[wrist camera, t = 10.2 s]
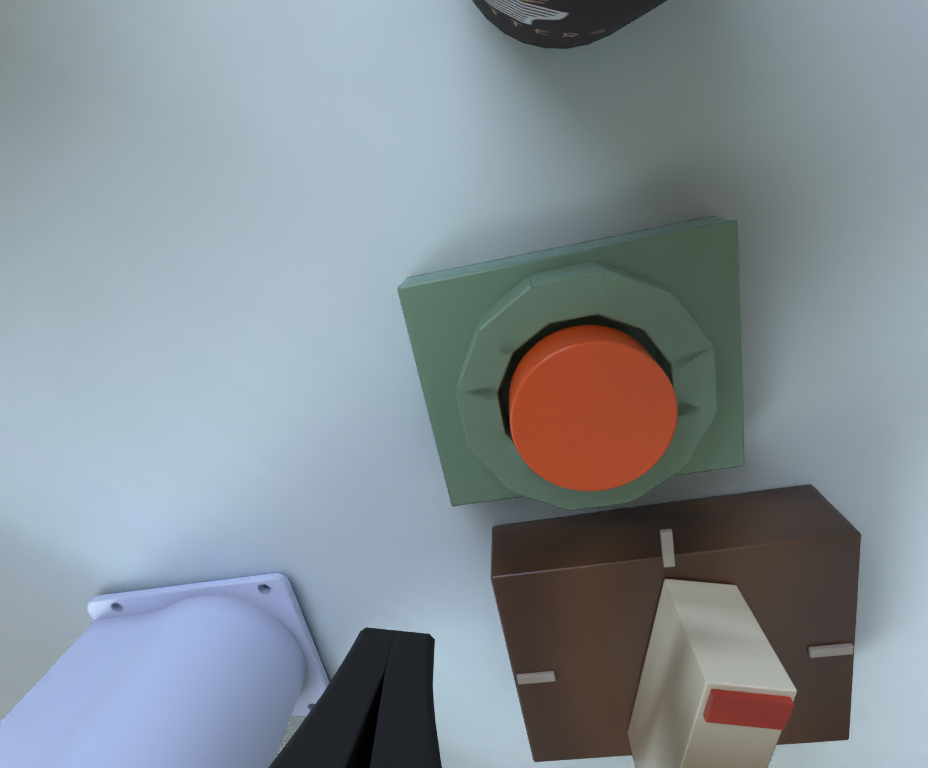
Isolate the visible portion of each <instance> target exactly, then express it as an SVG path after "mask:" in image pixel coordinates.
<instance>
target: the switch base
mask: <svg viewBox="0 0 928 768" xmlns="http://www.w3.org/2000/svg"><path fill="white" fill-rule="evenodd" d="M860 540H861V534H860V532H859V531H858V530H857V529H856V528H855V527H854V526H853V525H852V524H851V523H850V522H849V521H848V520H847V519H846V518H845V517H844V516H843V515H841V514H840V513H839V512H838V511H837V510H836V509H835V508H834V507H833V506H832V505H831V504H830V503H829V502H828V501H827V500H826V499H825V498H824V497H823V496H822V495H821V494H820V493H819V492H818V491H817V490H816V489H815V488H814V487H813V486H812V485H802V486H794V487H787V488H779V489H771V490H764V491H756V492H749V493H741V494H734V495H726V496H719V497H711V498H703V499H696V500H688V501H681V502H673V503H666V504H658V505H651V506H643V507H635V508H628V509H620V510H613V511H605V512H598V513H590V514H583V515H575V516H568V517H560V518H552V519H545V520H537V521H530V522H522V523H515V524H507V525H500V526H494V527H493V528H492V552H491V581H492V586H493V590H494V594H495V599H496V603H497V607H498V611H499V616H500V620H501V624H502V628H503V633H504V637H505V641H506V646H507V650H508V654H509V658H510V663H511V667H512V671H513V675H514V680H515V684H516V688H517V693H518V697H519V701H520V705H521V710H522V714H523V718H524V722H525V727H526V731H527V735H528V740H529V744H530V748H531V752H532V757H533V760H534V762H543V761H557V760H571V759H585V758H599V757H613V756H628V755H632V750H631V746H630V741H629V737H628V729H629V725H630V721H631V717H632V712H633V708H634V704H635V700H636V696H637V692H638V687H639V683H640V679H641V675H642V671H643V667H644V663H645V658H646V654H647V650H648V646H649V642H650V638H651V634H652V629H653V625H654V621H655V617H656V613H657V609H658V604H659V600H660V596H661V592H662V588H663V584H664V580H665V579H674V580H685V581H696V582H707V583H718V584H729V585H736V586H737V587H738V589H739V591H740V593H741V594H742V596H743V598H744V599H745V601H746V603H747V605H748V606H749V608H750V610H751V612H752V613H753V615H754V617H755V619H756V620H757V622H758V624H759V626H760V627H761V629H762V631H763V633H764V634H765V636H766V638H767V639H768V641H769V643H770V645H771V646H772V648H773V650H774V652H775V653H776V655H777V657H778V659H779V660H780V662H781V664H782V666H783V667H784V669H785V671H786V672H787V674H788V676H789V678H790V679H791V681H792V683H793V685H794V686H795V688H796V690H797V693H796V696H795V698H794V701H793V703H794V707H793V709H792V712H791V714H790V717H789V720H788V722H787V725H786V727H785V730H782V732H781V734H780V737H779V739H778V742H777V744H776V745H783V744H797V743H811V742H825V741H839V740H848V739H849V727H850V710H851V693H852V676H853V659H854V642H855V625H856V608H857V591H858V574H859V557H860Z"/></svg>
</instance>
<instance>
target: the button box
mask: <svg viewBox="0 0 928 768" xmlns="http://www.w3.org/2000/svg"><path fill="white" fill-rule="evenodd" d="M397 290H398V294H399V298H400V302H401V306H402V310H403V314H404V318H405V322H406V326H407V330H408V334H409V338H410V342H411V346H412V350H413V354H414V358H415V362H416V366H417V370H418V374H419V378H420V382H421V386H422V389H423V393H424V397H425V401H426V405H427V409H428V413H429V417H430V421H431V425H432V429H433V433H434V437H435V441H436V445H437V449H438V453H439V457H440V461H441V465H442V469H443V473H444V477H445V481H446V485H447V489H448V493H449V497H450V501H451V505H452V506H459V505H466V504H473V503H480V502H488V501H495V500H502V499H509V498H516V497H524V496H525V497H528V498H531V499H534V500H538V501H541V502H544V503H547V504H550V505H553V506H556V507H559V508H562V509H565V510H568V509H569V510H578V509H585V508H593V507H600V506H608V505H615V504H623V503H630V502H631V501H635V500H636V499H638V498H639V497H641V496H642V495H644V494H645V493H647V492H648V491H650V490H651V489H653V488H655V487H656V486H658V485H659V484H661V483H662V482H664V481H665V480H667V479H668V478H670V477H672V476H675V475H682V474H689V473H696V472H703V471H711V470H718V469H725V468H732V467H739V466H744V435H743V401H742V367H741V333H740V299H739V265H738V230H737V221H736V220H732V219H726V218H720V217H714V216H712V217H707V218H702V219H697V220H692V221H687V222H682V223H677V224H672V225H667V226H662V227H657V228H652V229H647V230H642V231H637V232H632V233H627V234H622V235H617V236H612V237H607V238H602V239H597V240H592V241H587V242H582V243H577V244H572V245H567V246H562V247H557V248H552V249H547V250H542V251H537V252H532V253H527V254H522V255H518V256H513V257H508V258H503V259H498V260H493V261H488V262H483V263H478V264H473V265H468V266H463V267H458V268H453V269H448V270H443V271H438V272H433V273H428V274H423V275H418V276H413V277H408V278H407V279H406V280H405V281H404V282H403V283H402V284H401V285H400V286H399V287H398V289H397ZM578 325H600V326H606V327H610V328H614V329H617V330H619V331H621V332H624V333H626V334H627V335H629V336H631V337H632V338H634V339H635V340H636V341H637V342H639V343H640V344H641V345H642V346H643V347H644V348H645V349H646V350H647V351H648V353H649V354H650V355H651V356H652V357H653V359H654V360H655V361H656V362H657V363H658V365H659V366H660V367H661V368H662V369H663V371H664V372H665V374H666V375H667V376H668V378H669V380H670V382H671V384H672V386H673V389H674V392H675V395H676V400H677V407H678V417H677V424H676V428H675V432H674V435H673V438H672V440H671V442H670V445H669V447H668V448H667V450H666V451H665V453H664V455H663V456H662V457H661V458H660V460H659V461H658V462H657V463H656V464H655V465H654V466H653V467H652V468H651V469H650V470H649V471H647V472H646V473H645V474H643V475H642V476H640V477H639V478H637V479H635V480H633V481H632V482H629V483H627V484H625V485H623V486H619V487H616V488H613V489H608V490H603V491H577V490H571V489H567V488H563V487H560V486H558V485H555V484H552V483H551V482H549V481H547V480H545V479H543V478H542V477H541V476H539V475H538V474H536V473H535V472H534V471H533V470H532V469H531V468H530V467H529V466H528V465H527V464H526V463H525V462H524V460H523V459H522V458H521V456H520V454H519V453H518V451H517V449H516V447H515V444H514V442H513V439H512V435H511V429H510V415H509V390H510V384H511V380H512V377H513V374H514V372H515V370H516V368H517V365H518V364H519V362H520V361H521V359H522V358H523V356H524V355H525V354H526V353H527V352H528V350H529V349H530V348H531V347H533V346H534V345H535V344H536V343H537V342H539V341H540V340H541V339H543V338H544V337H546V336H548V335H550V334H552V333H553V332H556V331H558V330H561V329H564V328H568V327H572V326H578Z"/></svg>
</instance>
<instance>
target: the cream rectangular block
mask: <svg viewBox="0 0 928 768" xmlns="http://www.w3.org/2000/svg"><path fill="white" fill-rule="evenodd" d="M796 693H797V690H796V688H795V686H794V685H793V683H792V681H791V679H790V678H789V676H788V674H787V672H786V671H785V669H784V667H783V666H782V664H781V662H780V660H779V659H778V657H777V655H776V653H775V652H774V650H773V648H772V646H771V645H770V643H769V641H768V639H767V638H766V636H765V634H764V633H763V631H762V629H761V627H760V626H759V624H758V622H757V620H756V619H755V617H754V615H753V613H752V612H751V610H750V608H749V606H748V605H747V603H746V601H745V599H744V598H743V596H742V594H741V593H740V591H739V589H738V587H737V586H736V585H729V584H718V583H707V582H696V581H685V580H674V579H665V580H664V584H663V588H662V592H661V596H660V600H659V604H658V609H657V613H656V617H655V621H654V625H653V629H652V634H651V638H650V642H649V646H648V650H647V654H646V658H645V663H644V667H643V671H642V675H641V679H640V683H639V687H638V692H637V696H636V700H635V704H634V708H633V712H632V717H631V721H630V725H629V729H628V737H629V741H630V746H631V750H632V755H633V759H634V763H635V768H767V767H768V765H769V762H770V760H771V757H772V755H773V752H774V749H775V747H776V744H777V742H778V739H779V737H780V734H781V732H782V730H785V727H786V725H787V722H788V720H789V717H790V714H791V712H792V709H793V707H794V703H793V701H794V698H795V696H796Z"/></svg>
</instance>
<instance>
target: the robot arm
mask: <svg viewBox="0 0 928 768" xmlns="http://www.w3.org/2000/svg"><path fill="white" fill-rule="evenodd" d="M264 585H267V586H268V587H269V588H267V587H265V586H264ZM87 610H88V612H89V614H90V616H91V617H92V619H93V621H94V622H93V623H92V624H91V625H90V626H89V627H88V628H87V629H86V630H85V631H84V632H83V633H82V635H81V636H80V637H79V638H78V639H77V640H76V641H75V642H74V643H73V644H72V645H71V646H70V647H69V649H68V650H67V651H66V652H65V653H64V654H63V655H62V656H61V657H60V658H59V659H58V660H57V662H56V663H55V664H54V665H53V666H52V667H51V668H50V669H49V670H48V671H47V672H46V673H45V674H44V676H43V677H42V678H41V679H40V680H39V681H38V682H37V683H36V684H35V685H34V686H33V687H32V689H31V690H30V691H29V692H28V693H27V694H26V695H25V696H24V697H23V698H22V699H21V700H20V701H19V703H18V704H17V705H16V706H15V707H14V708H13V709H12V710H11V711H10V712H9V713H8V714H7V716H6V717H5V718H4V719H3V720H2V721H1V722H0V768H442V766H441V760H440V752H439V745H438V737H437V730H436V723H435V713H434V701H433V666H434V645H435V639H434V638H433V637H432V636H431V635H430V634H424V633H415V632H405V631H395V630H385V629H376V628H365V629H363V630H362V631H360V633H359V635H358V637H357V639H356V640H355V642H354V644H353V646H352V647H351V649H350V651H349V653H348V654H347V656H346V658H345V659H344V661H343V663H342V664H341V666H340V667H339V669H338V671H337V672H336V674H335V675H334V677H333V678H332V680H331V681H330V682H329V680H328V677H327V675H326V672H325V670H324V667H323V665H322V662H321V660H320V657H319V654H318V652H317V649H316V647H315V644H314V642H313V639H312V637H311V634H310V632H309V629H308V627H307V624H306V622H305V619H304V617H303V614H302V611H301V609H300V606H299V604H298V601H297V599H296V596H295V594H294V591H293V589H292V586H291V584H290V581H289V580H288V578H287V577H286V576H285V575H283V574H280V573H271V574H263V575H255V576H247V577H239V578H231V579H224V580H216V581H208V582H200V583H192V584H184V585H177V586H169V587H161V588H153V589H145V590H137V591H129V592H122V593H114V594H106V595H98V596H95V597H94V598H93V599H92V600H91V601H90V602H89V603H88V604H87ZM306 715H307V717H306V718H305V719H304V721H303V722H302V724H301V725H300V727H299V728H298V729H297V731H296V732H295V734H294V735H293V736H292V738H291V739H290V740H289V742H288V743H287V744H286V746H285V747H284V748H283V749H282V751H281V752H280V753H279V755H278V756H277V757H276V758H275V756H276V754H277V751H278V748H279V746H280V743H281V741H282V738H283V736H284V733H285V731H286V728H287V726H288V723H289V721H290V718H291V717H294V716H306ZM274 759H275V760H274Z"/></svg>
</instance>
